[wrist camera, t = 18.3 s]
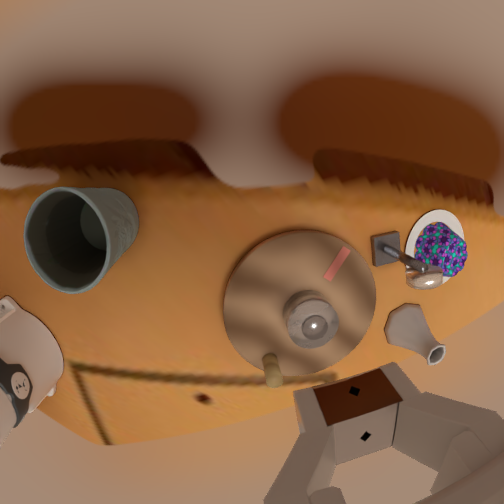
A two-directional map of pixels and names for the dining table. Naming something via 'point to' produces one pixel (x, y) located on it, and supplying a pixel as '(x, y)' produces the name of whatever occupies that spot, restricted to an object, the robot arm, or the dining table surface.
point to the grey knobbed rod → (405, 261)
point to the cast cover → (310, 319)
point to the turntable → (287, 284)
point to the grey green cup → (78, 235)
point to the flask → (413, 333)
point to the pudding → (439, 242)
